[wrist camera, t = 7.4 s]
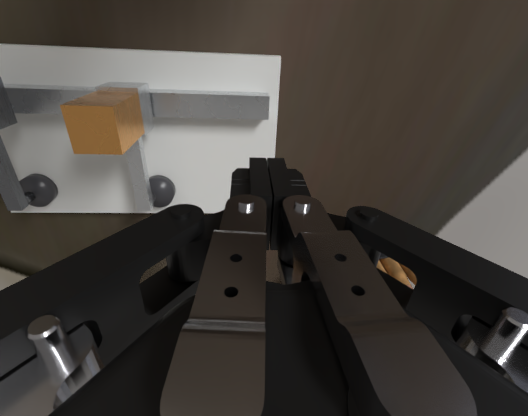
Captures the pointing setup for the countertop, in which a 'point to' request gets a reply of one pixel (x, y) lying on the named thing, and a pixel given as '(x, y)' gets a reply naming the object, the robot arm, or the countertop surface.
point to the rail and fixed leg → (52, 96)
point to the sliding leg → (114, 129)
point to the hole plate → (155, 142)
